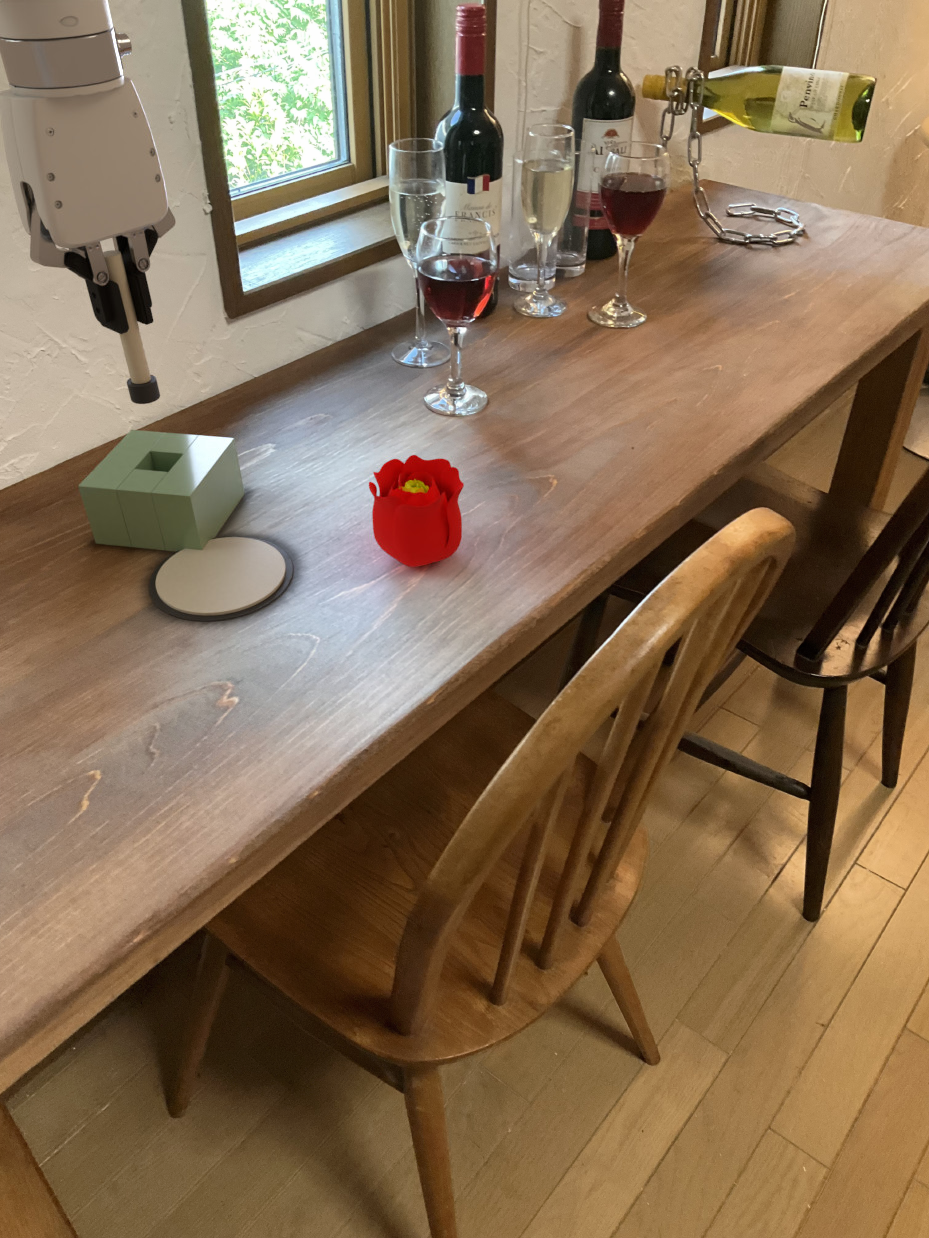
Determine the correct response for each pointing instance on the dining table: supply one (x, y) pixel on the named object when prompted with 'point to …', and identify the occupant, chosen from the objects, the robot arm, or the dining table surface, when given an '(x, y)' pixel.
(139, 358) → the pen
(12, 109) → the robot arm
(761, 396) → the dining table surface
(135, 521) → the pen stand
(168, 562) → the beige coaster disc
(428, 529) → the flower
